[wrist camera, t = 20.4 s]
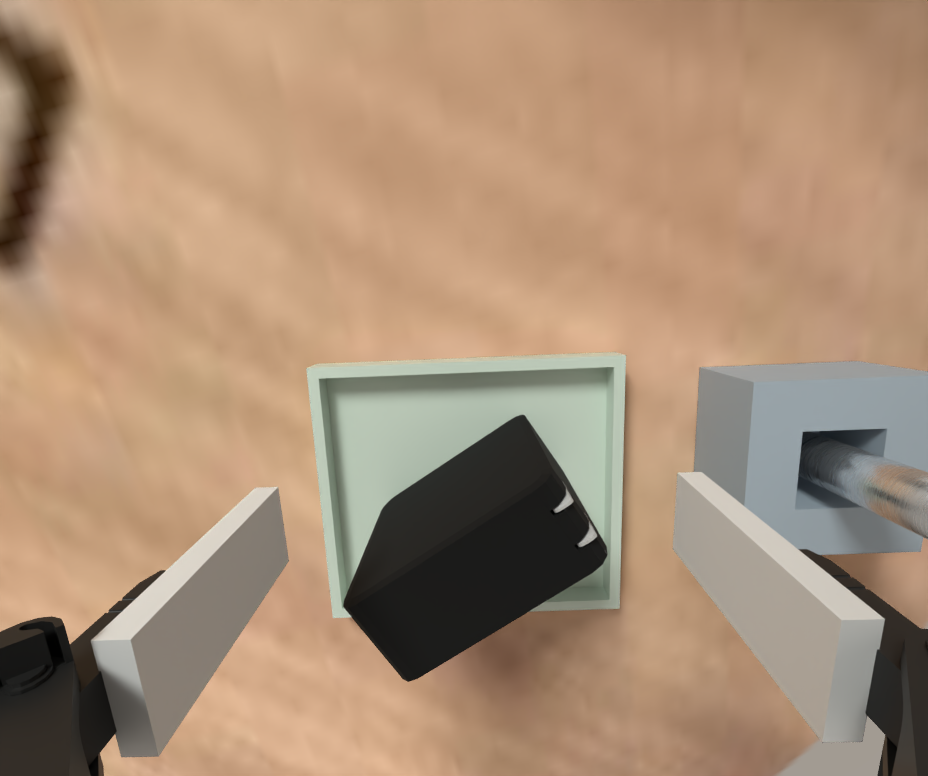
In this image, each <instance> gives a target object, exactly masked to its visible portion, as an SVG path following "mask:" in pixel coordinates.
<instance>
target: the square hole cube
mask: <svg viewBox="0 0 928 776" xmlns="http://www.w3.org/2000/svg"><path fill="white" fill-rule="evenodd" d="M807 431H810V432H813V433H816V434H819V435H822V436H825V437H827V438H830V439H833V440H836V441H839V442H842V443H845V444H848V445H850V446H853V447H856V448H859V449H862V450H865V451H868V452H871V453H873V454H876V455H879V456H882V457H885V458H888V459H891V460H893V461H896V462H899V463H902V464H905V465H908V466H911V467H914V468H916V469H919V470H922V471H925V472H928V371H921V370H914V369H907V368H900V367H894V366H887V365H880V364H873V363H866V362H860V361H849V362H823V363H798V364H773V365H748V366H722V367H700V372H699V390H698V408H697V426H696V444H695V462H694V472H702V473H703V474H705V475H706V476H707V477H708V478H710V479H711V480H712V481H713V482H715V483H716V484H717V485H718V486H720V487H721V488H722V489H723V490H725V491H726V492H727V493H728V494H730V495H731V496H732V497H733V498H735V499H736V500H737V501H738V502H740V503H741V504H742V505H743V506H745V507H746V508H747V509H748V510H750V511H751V512H752V513H753V514H755V515H756V516H757V517H758V518H760V519H761V520H762V521H763V522H764V523H766V524H767V525H768V526H769V527H771V528H772V529H773V530H774V531H776V532H777V533H778V534H779V535H781V536H782V537H783V538H784V539H786V540H787V541H788V542H789V543H791V544H792V545H793V546H794V547H796V548H797V549H808V550H810V551H812V552H814V553H816V554H818V555H833V554H863V553H892V552H921V547H922V541H923V537H922V536H920V535H918V534H916V533H914V532H912V531H910V530H908V529H906V528H904V527H902V526H900V525H898V524H896V523H894V522H892V521H890V520H887V519H885V518H883V517H881V516H879V515H877V514H875V513H873V512H871V511H869V510H867V509H865V508H863V507H861V506H859V505H857V504H855V503H853V502H851V501H849V500H847V499H845V498H843V497H841V496H839V495H837V494H835V493H833V492H831V491H829V490H827V489H825V488H823V487H821V486H819V485H816V484H814V483H812V482H810V481H808V480H806V479H804V478H802V477H800V476H798V473H799V463H800V453H801V444H802V434H803V432H807Z"/></svg>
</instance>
